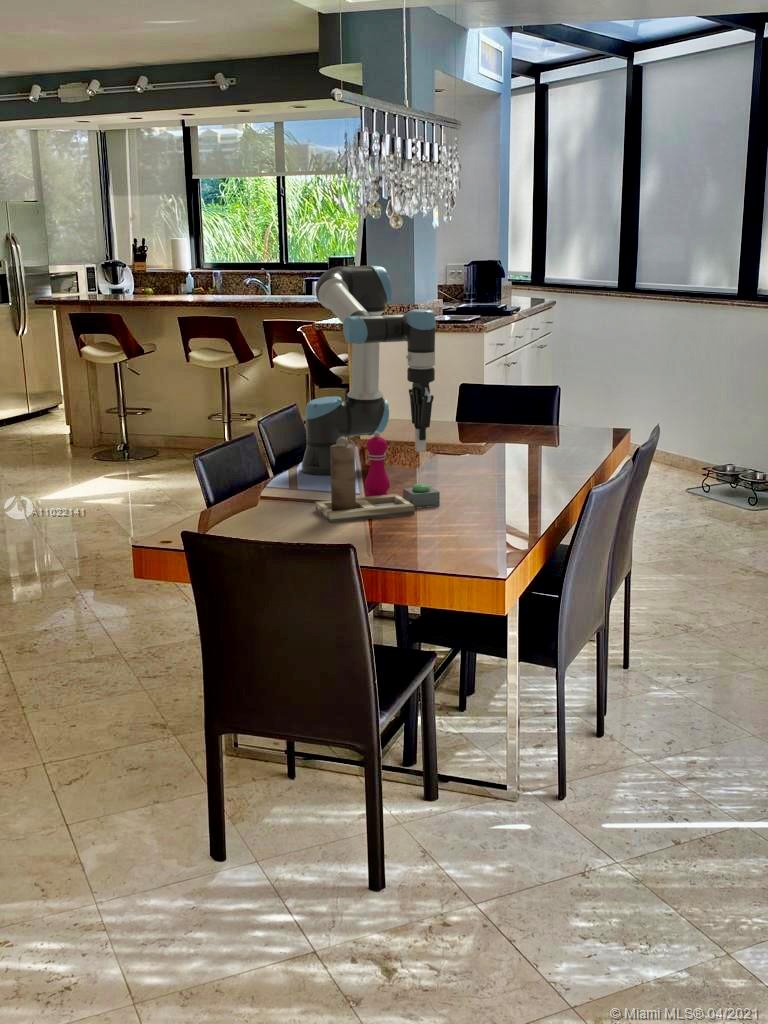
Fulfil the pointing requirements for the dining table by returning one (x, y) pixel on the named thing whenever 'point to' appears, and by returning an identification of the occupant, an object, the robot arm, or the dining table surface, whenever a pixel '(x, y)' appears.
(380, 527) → the dining table surface
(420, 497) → the button box
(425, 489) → the button
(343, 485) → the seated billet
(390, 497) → the divided tray
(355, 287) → the robot arm
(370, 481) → the pepper mill
